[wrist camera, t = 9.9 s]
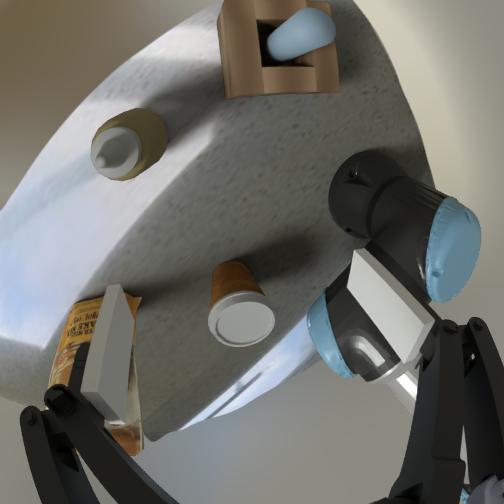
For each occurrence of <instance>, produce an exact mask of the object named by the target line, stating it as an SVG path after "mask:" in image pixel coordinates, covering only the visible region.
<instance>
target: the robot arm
mask: <svg viewBox="0 0 504 504" xmlns="http://www.w3.org/2000/svg"><path fill="white" fill-rule="evenodd" d="M329 209H330V212H331V215H332V217H333V219H334V221H335V222H336V224H337V225H338V226H339V227H341V228H342V229H343V230H344V231H345V232H346V233H348V234H349V235H351V236H354V237H357V238H360V239H364V240H368V241H370V242H369V243H368V244H367V245H366V246H365V247H364V248H363V249H357V250H354V253H353V259H352V262H351V263H350V264H349V265H348V266H347V267H346V269H345V270H344V271H343V272H342V273H341V274H340V275H339V276H338V277H337V278H336V279H335V281H334V282H333V283H332V284H331V285H330V286H329V287H326V288H325V289H324V290H323V293H322V294H321V295H320V297H319V298H318V299H317V300H316V301H315V302H314V303H313V305H312V306H311V307H310V308H309V310H308V313H307V326H308V330H309V334H310V337H311V339H312V341H313V343H314V345H315V347H316V349H317V351H318V352H319V354H320V355H321V357H322V358H323V359H324V361H325V362H326V363H327V364H328V366H329V367H330V368H331V369H332V370H333V371H335V372H336V373H339V374H340V376H342V377H345V378H350V377H354V376H356V375H357V374H360V375H361V376H362V378H363V379H364V380H365V381H366V382H367V383H383V384H385V385H386V386H387V387H388V388H389V390H390V391H391V392H393V394H394V395H395V396H396V397H397V398H398V399H399V400H400V401H401V402H402V403H403V404H404V406H405V407H406V408H407V409H408V410H409V411H410V412H411V413H412V414H413V421H412V426H411V432H410V436H409V441H408V445H407V450H406V454H405V458H404V462H403V465H402V469H401V472H400V475H399V477H398V479H397V480H396V482H395V483H394V485H393V486H392V488H391V491H390V494H389V497H388V499H387V497H385V498H383V499H380V500H378V501H375V502H373V503H370V504H459V502H460V498H461V499H462V500H463V503H464V504H504V366H503V364H502V361H501V358H500V356H499V353H498V350H497V348H496V346H495V343H494V341H493V338H492V336H491V334H490V331H489V329H488V327H487V325H486V323H485V322H484V321H483V320H482V319H480V318H478V317H472V318H470V320H469V322H468V323H467V325H457V324H456V323H455V322H453V321H451V320H447V319H445V320H442V319H441V318H440V317H439V316H438V315H437V314H436V312H435V311H434V310H433V309H432V308H431V307H430V306H429V305H428V304H429V303H430V302H431V301H432V299H433V300H434V301H436V302H440V303H445V302H448V301H450V300H451V299H452V297H455V296H456V295H457V294H458V293H459V292H460V291H461V290H462V288H463V287H464V286H465V284H466V283H467V281H468V280H469V277H470V276H471V274H472V272H473V270H474V267H475V265H476V262H477V259H478V255H479V251H480V245H481V228H480V224H479V221H478V219H477V217H476V215H475V214H474V213H473V212H472V211H471V210H470V209H468V208H467V207H465V206H464V205H462V204H461V203H459V202H458V200H457V199H455V198H454V197H449V196H448V195H446V194H444V193H442V192H440V191H438V190H436V189H434V188H432V187H430V186H427V185H425V184H423V183H421V182H419V181H417V180H415V179H412V178H410V177H409V176H408V175H407V174H406V173H405V172H404V171H403V170H402V169H401V168H400V167H399V166H398V165H397V163H396V162H395V161H393V160H392V159H391V158H389V157H387V156H385V155H382V154H380V153H377V152H371V151H367V152H361V153H358V154H355V155H353V156H352V157H350V158H349V159H347V160H346V161H345V162H344V163H343V164H342V165H341V166H340V168H339V169H338V170H337V172H336V174H335V176H334V178H333V180H332V182H331V186H330V190H329ZM134 324H135V321H134V318H133V316H132V313H131V311H130V308H129V305H128V303H127V300H126V297H125V295H124V292H123V289H122V286H121V284H114V285H108V286H107V289H106V292H105V295H104V299H103V302H102V305H101V308H100V312H99V315H98V318H97V322H96V326H95V329H94V333H93V337H92V341H91V343H82V344H81V345H80V346H79V348H78V349H77V351H76V354H75V358H74V362H73V365H72V369H71V373H70V378H69V382H68V387H67V386H66V385H64V384H55V385H53V386H51V387H50V388H49V389H48V390H47V391H46V393H45V396H44V402H45V406H46V407H47V408H48V410H44V411H40V410H39V409H38V408H37V407H35V406H28V407H26V408H25V409H24V410H23V411H22V412H21V415H20V426H21V432H22V436H23V442H24V446H25V451H26V455H27V458H28V462H29V466H30V470H31V473H32V476H33V480H34V483H35V486H36V488H37V491H38V494H39V497H40V500H41V502H42V504H100V503H99V501H98V499H97V497H96V495H95V493H94V491H93V489H92V487H91V485H90V483H89V481H88V478H87V476H86V474H85V471H84V469H83V467H82V464H81V462H80V459H79V457H78V454H77V452H76V450H77V451H78V453H79V454H80V456H81V457H82V459H83V460H84V461H85V463H86V464H87V465H88V467H89V468H90V470H91V471H92V472H93V474H94V475H95V476H96V478H97V479H98V480H99V481H100V483H101V484H102V485H103V486H104V488H105V489H106V490H107V491H108V493H109V494H110V495H111V496H112V497H113V498H114V499H115V501H116V502H117V503H118V504H179V503H178V502H177V501H176V500H175V499H174V498H172V497H171V496H170V495H169V494H168V493H167V492H165V491H164V490H163V489H162V488H161V487H160V486H159V485H158V484H157V483H156V482H155V481H154V480H153V479H152V478H151V477H149V475H148V474H147V473H145V471H143V469H142V468H141V467H140V466H139V465H138V464H137V463H136V462H135V461H134V460H133V459H132V458H131V457H130V456H129V454H128V453H127V452H126V451H125V450H124V449H123V448H122V446H121V445H120V444H119V443H118V442H117V441H116V439H115V438H114V437H113V436H112V435H111V433H110V432H109V431H108V430H107V428H106V427H105V426H104V424H105V419H106V420H107V421H108V422H109V423H110V424H126V407H127V390H128V377H129V366H130V356H131V347H132V339H133V331H134ZM472 354H474V356H475V358H474V359H472V357H471V356H472ZM75 448H76V449H75Z"/></svg>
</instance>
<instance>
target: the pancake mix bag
mask: <svg viewBox="0 0 504 504" xmlns="http://www.w3.org/2000/svg"><path fill="white" fill-rule="evenodd" d="M124 295H125V297H126V300H127V303H128V305H129V308H130V311H131V313H132V316H133V318H134V321H135V324H134V331H133V339H132V347H131V356H130V366H129V377H128V390H127V407H126V424H110V423H109V422H108V421H107V420H106V419H105V424H104V426H105V427H106V428H107V430H108V431H109V432H110V433H111V435H112V436H113V437H114V438H115V439H116V441H117V442H118V443H119V444H120V445H121V446H122V448H123V449H124V450H125V451H126V452H127V453H128V454H129V456H136V455H137V454H138V453H139V452H141V451H142V450H143V449H144V437H143V425H142V414H141V410H140V406H139V390H138V374H137V366H136V361H135V352H134V351H135V340H136V311H137V309H138V308H139V306H140V303H141V300H142V297H133V296H131V295H130V294H128V293H124ZM103 299H104V296H103V297H99V298H95V299H91V300H85V301H81V302H78V303H75V304H74V306H73V310H72V312H70V313H69V316H68V320H67V323H66V325H65V327H64V330H63V333H62V336H61V339H60V342H59V346H58V350H57V353H56V356H55V359H54V362H53V366H52V370H51V373H50V378H49V384H48V388H47V390H48V389H49V388H50V387H51V386H53V385H55V384H64V385H66V386H67V387H68V382H69V378H70V373H71V369H72V365H73V362H74V358H75V354H76V351H77V349H78V348H79V346H80V345H81V344H82V343H91V341H92V337H93V333H94V329H95V326H96V322H97V318H98V315H99V312H100V308H101V305H102V302H103ZM45 410H48V408H47V407H45ZM75 449H76V448H75ZM76 452H77V454H78V455H79V456H80V454H79V453H78V451H77V450H76Z"/></svg>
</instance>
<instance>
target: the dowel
mask: <svg viewBox="0 0 504 504" xmlns="http://www.w3.org/2000/svg"><path fill="white" fill-rule="evenodd" d="M335 35H336V28H335V25H334V22H333V21H332V19H331V18H330V17H329V16H328V15H327V14H326V13H324V12H323V11H321V10H319V9H315V8H304V9H301V10H299V11H298V12H297V13H295V14H294V15H293V16H292V17H290V18H289V19H288V20H287V21H285V22H284V23H283V24H282V25H281V26H280V27H278V28H277V29H276V30H275V31H274V32H273V33H271V34H270V35H269V36H268V37H267V38H266V39H265V40H264V41H262V42H261V43H260V44H259V47H260V55H261V63H263V64H264V65H267V66H271V67H273V66H278V65H280V64H282V63H285V62H287V61H289V60H291V59H293V58H296V57H298V56H300V55H303V54H305V53H307V52H310V51H312V50H315V49H317V48H320V47H322V46H325V45H328V44H329V43H331V42H332V41H333V39H334V38H335Z"/></svg>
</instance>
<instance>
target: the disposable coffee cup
mask: <svg viewBox="0 0 504 504" xmlns="http://www.w3.org/2000/svg"><path fill="white" fill-rule="evenodd" d="M275 317H276V310H275V307H274V305H273V303H272V302H271V301H270V300H269V299H268V298H267V297H266V296H265V295H264V293H263V292H262V290H261V289H260V287H259V285H258V284H257V282H256V281H255V279H254V277H253V276H252V274H251V273H250V271H249V270H248V268H247V267H246V266H245V265H244V264H243V263H241V262H238V261H227V262H224V263H222V264H220V265H219V266H218V267H217V268H216V269H215V270H214V272H213V277H212V298H211V312H210V314H209V317H208V325H209V328H210V330H211V332H212V333H213V334H214V335H215V337H216V338H217V339H218V340H219V341H220V342H221V343H223V344H226V345H229V346H235V347H244V346H249V345H252V344H255V343H257V342H259V341H261V340H263V339H264V338H265V337H266V336H268V334H269V333H270V332H271V331H272V329H273V327H274V323H275Z"/></svg>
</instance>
